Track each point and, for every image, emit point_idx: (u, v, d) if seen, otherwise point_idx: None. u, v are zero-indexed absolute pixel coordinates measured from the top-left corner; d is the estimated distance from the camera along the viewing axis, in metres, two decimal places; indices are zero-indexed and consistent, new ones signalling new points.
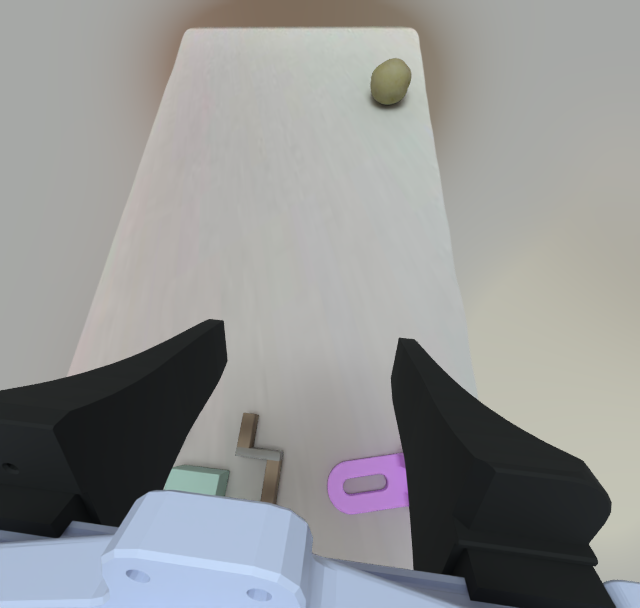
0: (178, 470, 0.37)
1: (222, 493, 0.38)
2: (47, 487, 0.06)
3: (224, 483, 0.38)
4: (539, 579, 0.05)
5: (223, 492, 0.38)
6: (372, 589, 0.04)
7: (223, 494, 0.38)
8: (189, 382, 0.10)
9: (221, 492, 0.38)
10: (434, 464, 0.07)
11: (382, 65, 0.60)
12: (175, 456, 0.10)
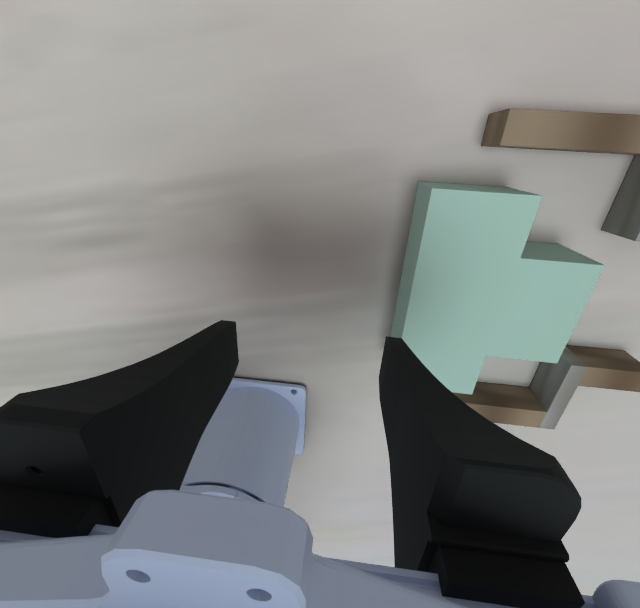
0: (592, 285, 0.16)
1: None
2: (70, 490, 0.06)
3: None
4: (510, 575, 0.06)
5: None
6: (372, 589, 0.04)
7: None
8: (203, 384, 0.10)
9: None
10: (413, 461, 0.07)
11: None
12: (189, 459, 0.10)
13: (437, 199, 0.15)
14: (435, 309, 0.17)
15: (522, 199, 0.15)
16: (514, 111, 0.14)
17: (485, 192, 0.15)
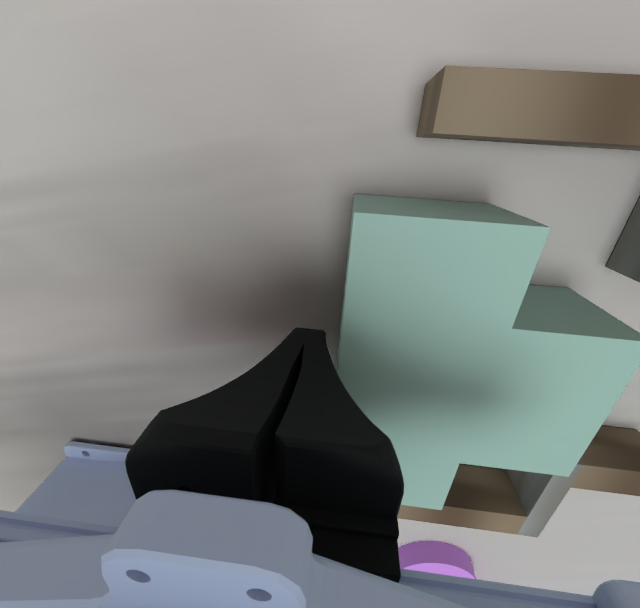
0: (631, 371, 0.10)
1: None
2: None
3: None
4: (338, 550, 0.06)
5: None
6: (372, 589, 0.04)
7: None
8: None
9: None
10: None
11: None
12: None
13: (365, 231, 0.08)
14: (378, 399, 0.11)
15: (514, 233, 0.08)
16: (453, 71, 0.08)
17: (448, 220, 0.08)
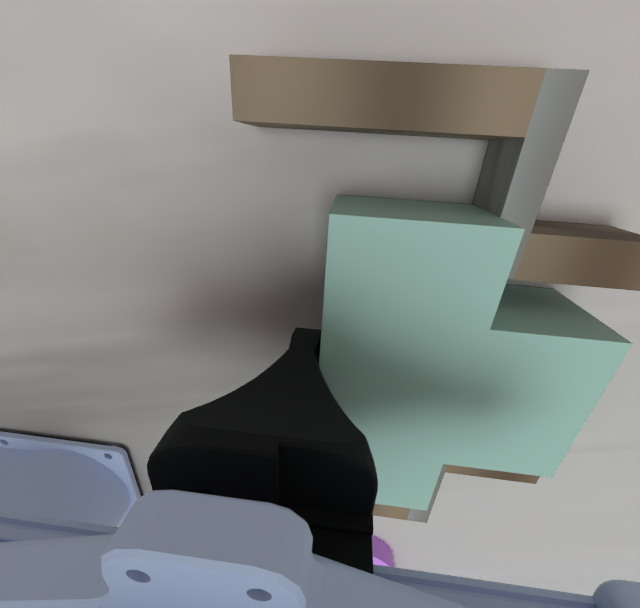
0: (610, 372, 0.10)
1: None
2: None
3: None
4: (312, 546, 0.06)
5: None
6: (372, 589, 0.04)
7: None
8: None
9: None
10: None
11: None
12: None
13: (341, 233, 0.08)
14: (360, 400, 0.11)
15: (489, 234, 0.08)
16: (238, 60, 0.08)
17: (423, 221, 0.08)
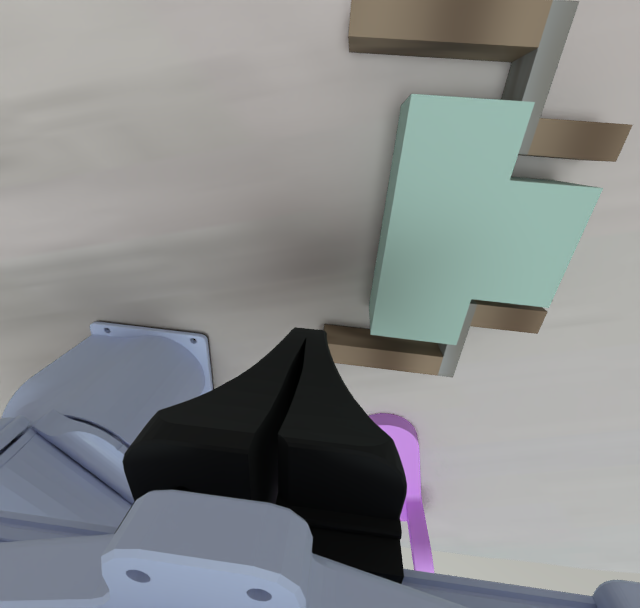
0: (588, 212, 0.14)
1: None
2: None
3: None
4: (341, 551, 0.06)
5: None
6: (372, 589, 0.04)
7: None
8: (292, 394, 0.10)
9: None
10: None
11: None
12: None
13: (417, 107, 0.13)
14: (416, 243, 0.16)
15: (512, 106, 0.13)
16: None
17: (471, 99, 0.13)
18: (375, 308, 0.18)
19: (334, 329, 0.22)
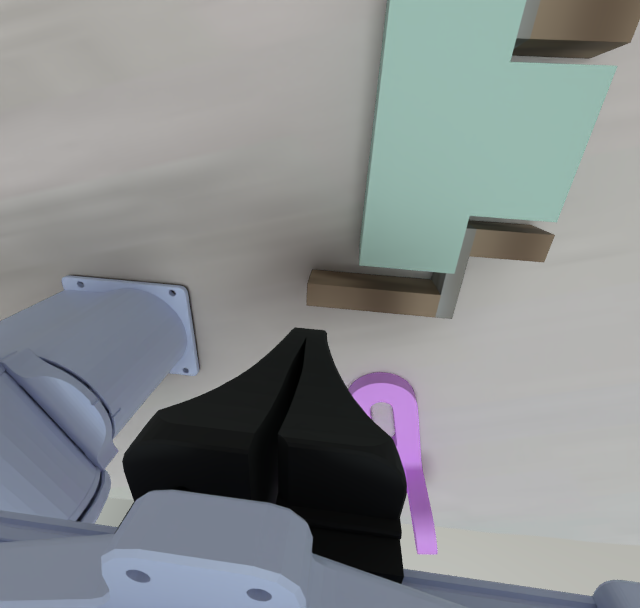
0: (601, 99, 0.13)
1: None
2: None
3: None
4: (340, 550, 0.06)
5: None
6: (372, 589, 0.04)
7: None
8: (292, 394, 0.10)
9: None
10: None
11: None
12: None
13: None
14: (406, 149, 0.14)
15: None
16: None
17: None
18: (363, 233, 0.16)
19: (322, 273, 0.21)
